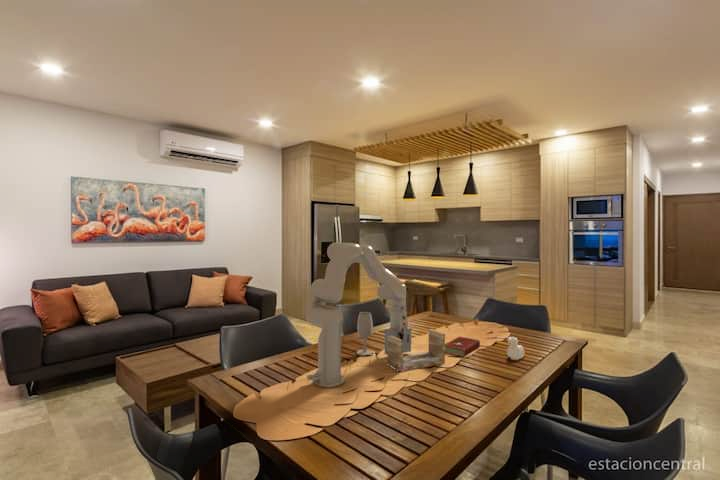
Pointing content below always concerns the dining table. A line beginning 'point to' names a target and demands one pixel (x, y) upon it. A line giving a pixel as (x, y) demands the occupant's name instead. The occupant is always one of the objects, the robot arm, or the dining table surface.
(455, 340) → the hardcover book
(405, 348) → the door panel
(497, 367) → the dining table surface
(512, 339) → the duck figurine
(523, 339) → the dining table surface
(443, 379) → the dining table surface
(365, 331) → the wineglass
